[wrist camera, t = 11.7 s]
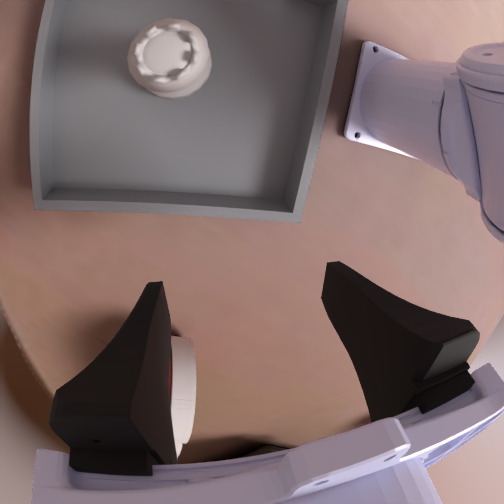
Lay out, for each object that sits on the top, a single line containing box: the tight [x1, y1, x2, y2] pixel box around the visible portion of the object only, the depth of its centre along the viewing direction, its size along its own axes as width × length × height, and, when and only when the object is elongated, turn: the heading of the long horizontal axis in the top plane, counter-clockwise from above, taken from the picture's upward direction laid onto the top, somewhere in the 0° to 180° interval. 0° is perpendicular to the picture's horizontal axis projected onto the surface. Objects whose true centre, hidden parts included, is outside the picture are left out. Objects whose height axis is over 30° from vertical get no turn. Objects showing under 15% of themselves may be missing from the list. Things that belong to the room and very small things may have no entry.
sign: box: [169, 336, 196, 459], centre depth 28 cm, size 22×2×10 cm, turn 161°
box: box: [30, 0, 348, 223], centre depth 16 cm, size 18×16×3 cm
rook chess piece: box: [127, 18, 213, 100], centre depth 12 cm, size 4×4×8 cm
